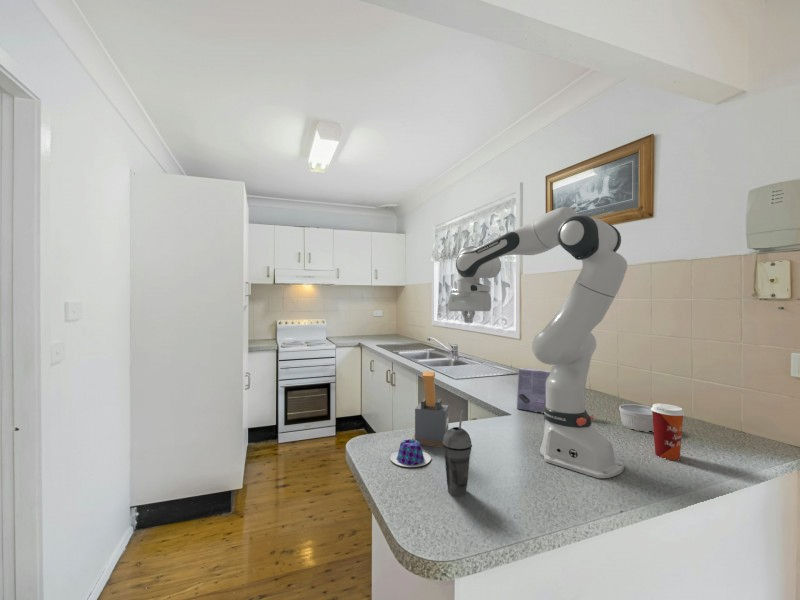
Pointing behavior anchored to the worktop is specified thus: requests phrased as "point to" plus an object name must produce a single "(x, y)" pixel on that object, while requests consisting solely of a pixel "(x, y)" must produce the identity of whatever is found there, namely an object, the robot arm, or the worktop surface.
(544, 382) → the cake pan box
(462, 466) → the beverage cup
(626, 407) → the ramekin
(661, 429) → the coffee cup
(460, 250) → the robot arm
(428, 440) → the box
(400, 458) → the pudding
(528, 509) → the worktop surface
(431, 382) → the lever
